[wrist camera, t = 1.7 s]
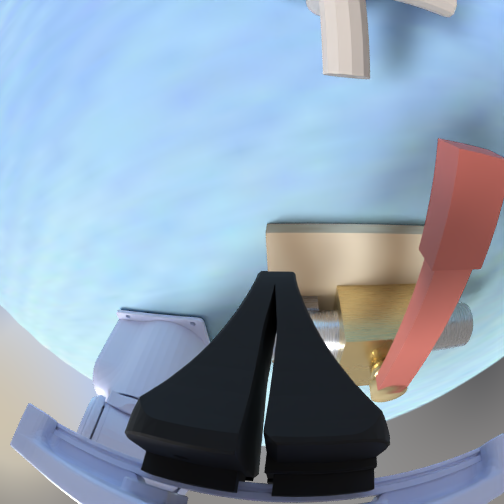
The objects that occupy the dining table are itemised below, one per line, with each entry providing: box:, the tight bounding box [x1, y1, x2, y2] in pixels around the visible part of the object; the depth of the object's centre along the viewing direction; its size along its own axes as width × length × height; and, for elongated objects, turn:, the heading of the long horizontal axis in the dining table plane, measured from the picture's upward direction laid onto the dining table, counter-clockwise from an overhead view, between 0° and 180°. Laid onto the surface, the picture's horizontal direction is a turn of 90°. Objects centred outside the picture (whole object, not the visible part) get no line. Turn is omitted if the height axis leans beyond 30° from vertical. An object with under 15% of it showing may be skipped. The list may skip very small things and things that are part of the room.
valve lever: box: [369, 138, 504, 402], centre depth 10 cm, size 15×3×1 cm, turn 5°
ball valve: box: [272, 283, 473, 386], centre depth 17 cm, size 16×6×7 cm, turn 95°
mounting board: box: [266, 224, 424, 363], centre depth 20 cm, size 16×14×1 cm
